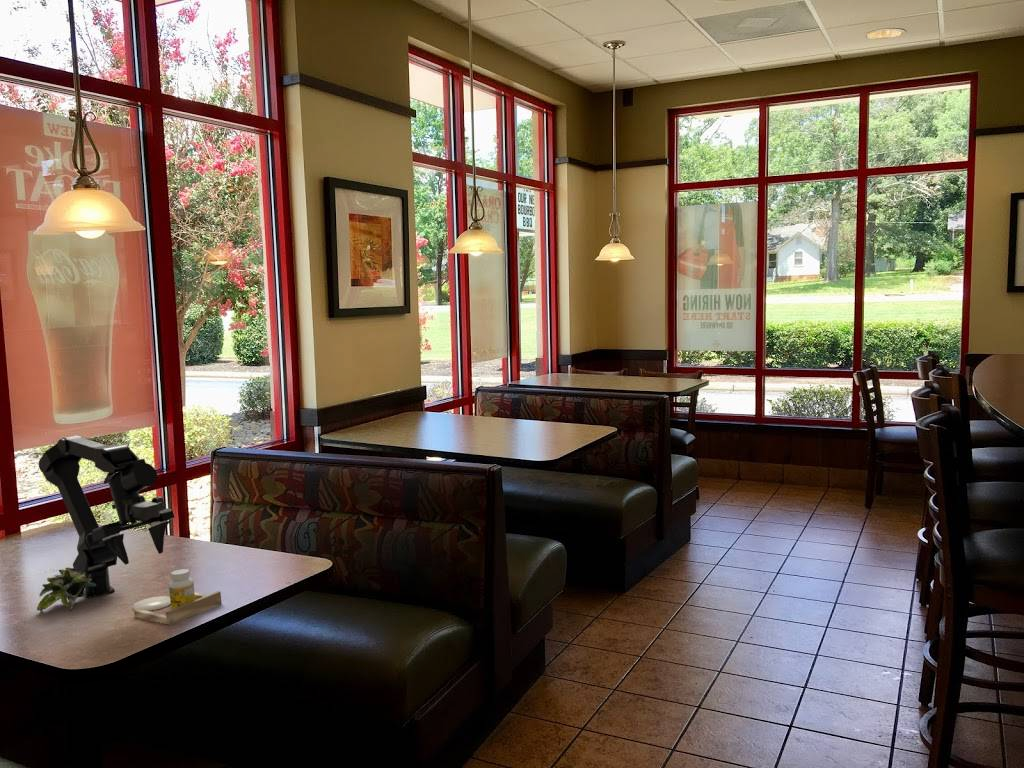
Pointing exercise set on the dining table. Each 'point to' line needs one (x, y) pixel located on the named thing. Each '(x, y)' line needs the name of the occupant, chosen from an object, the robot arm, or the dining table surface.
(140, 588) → the dining table surface
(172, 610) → the wooden slat frame
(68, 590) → the green leafy plant
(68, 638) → the dining table surface
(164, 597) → the coaster
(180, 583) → the supplement bottle
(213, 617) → the dining table surface
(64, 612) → the dining table surface
